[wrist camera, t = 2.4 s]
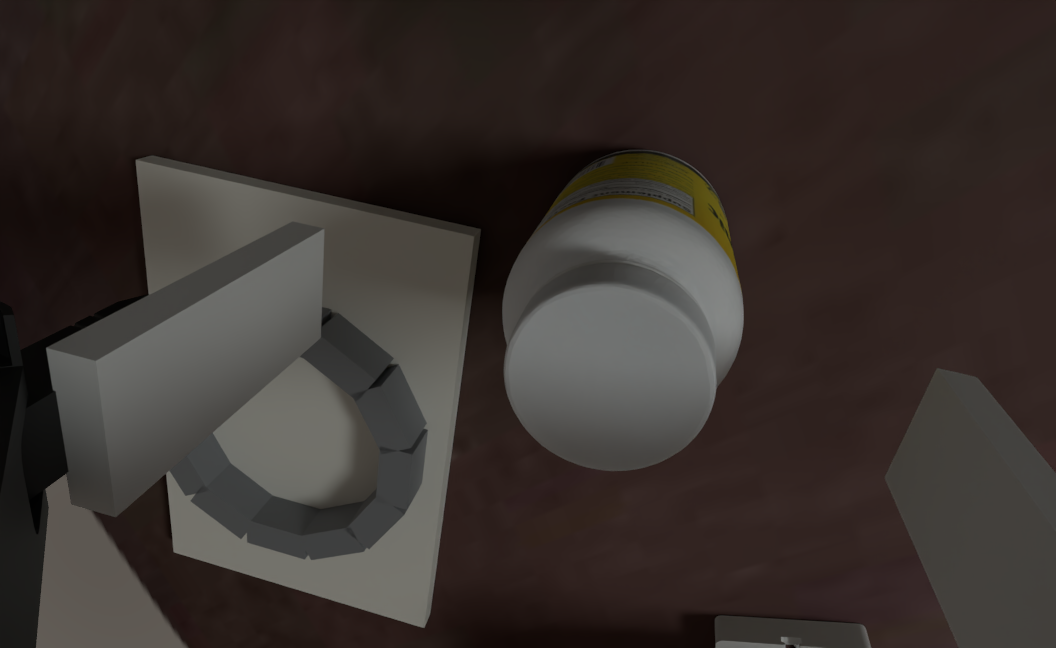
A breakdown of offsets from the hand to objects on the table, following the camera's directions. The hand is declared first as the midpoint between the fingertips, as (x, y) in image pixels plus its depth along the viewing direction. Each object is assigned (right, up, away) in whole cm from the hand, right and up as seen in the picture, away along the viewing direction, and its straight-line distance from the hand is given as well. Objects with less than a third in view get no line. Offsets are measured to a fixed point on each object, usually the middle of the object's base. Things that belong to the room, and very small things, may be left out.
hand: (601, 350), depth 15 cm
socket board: (-10, -3, +12) cm, 16 cm away
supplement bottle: (+2, +3, +7) cm, 8 cm away
